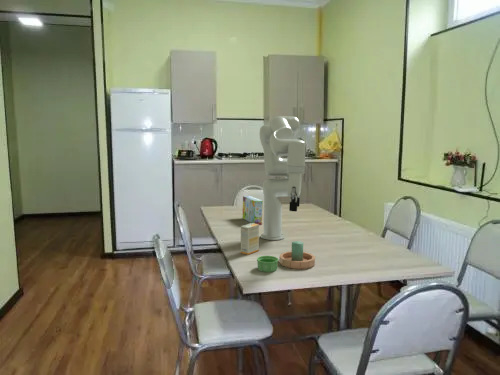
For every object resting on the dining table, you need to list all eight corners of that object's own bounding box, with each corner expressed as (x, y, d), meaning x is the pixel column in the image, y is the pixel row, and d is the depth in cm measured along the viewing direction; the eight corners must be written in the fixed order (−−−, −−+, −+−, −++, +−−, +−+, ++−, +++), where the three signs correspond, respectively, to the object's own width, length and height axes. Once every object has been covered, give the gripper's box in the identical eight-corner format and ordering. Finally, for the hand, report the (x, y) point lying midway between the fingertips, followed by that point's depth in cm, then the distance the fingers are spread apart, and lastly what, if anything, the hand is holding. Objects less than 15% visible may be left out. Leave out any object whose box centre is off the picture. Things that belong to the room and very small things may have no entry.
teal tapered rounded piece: (292, 258, 179) (292, 240, 178) (303, 259, 178) (304, 241, 176) (290, 262, 174) (291, 243, 173) (302, 263, 173) (302, 244, 172)
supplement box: (251, 249, 196) (251, 222, 194) (259, 251, 193) (259, 224, 191) (240, 253, 189) (240, 225, 187) (247, 255, 186) (248, 227, 184)
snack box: (262, 224, 247) (263, 200, 245) (254, 225, 245) (254, 200, 243) (249, 217, 266) (250, 195, 264) (241, 218, 264) (242, 195, 262)
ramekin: (265, 274, 162) (265, 263, 161) (252, 268, 169) (252, 257, 169) (282, 270, 167) (283, 259, 166) (269, 264, 174) (269, 254, 174)
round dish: (282, 256, 185) (282, 250, 184) (315, 259, 181) (316, 252, 181) (277, 267, 170) (277, 260, 170) (313, 270, 167) (313, 263, 166)
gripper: (289, 166, 183) (288, 204, 185) (284, 171, 166) (283, 212, 169) (306, 167, 181) (304, 205, 184) (302, 172, 164) (301, 213, 167)
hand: (294, 208), depth 176 cm, fingers open, 9 cm apart
